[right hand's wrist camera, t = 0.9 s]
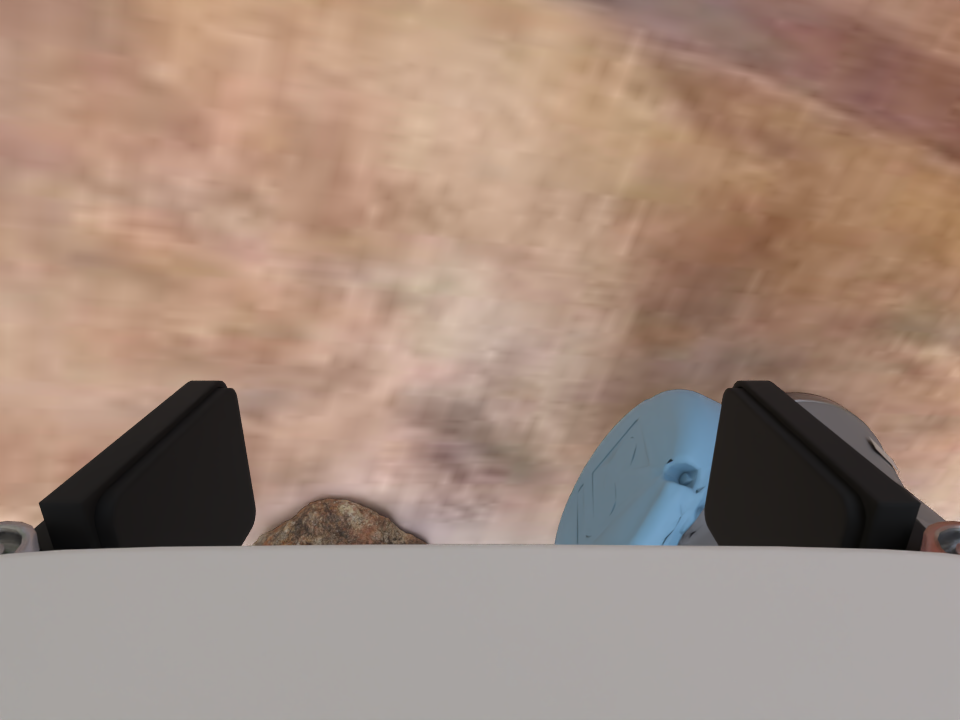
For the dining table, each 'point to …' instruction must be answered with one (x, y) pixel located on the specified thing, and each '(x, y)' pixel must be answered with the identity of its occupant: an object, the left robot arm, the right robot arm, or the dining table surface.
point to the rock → (337, 527)
